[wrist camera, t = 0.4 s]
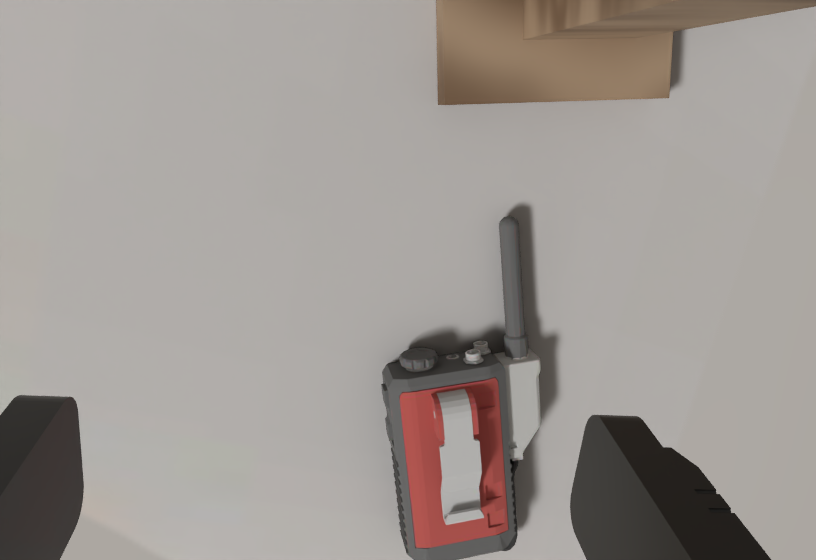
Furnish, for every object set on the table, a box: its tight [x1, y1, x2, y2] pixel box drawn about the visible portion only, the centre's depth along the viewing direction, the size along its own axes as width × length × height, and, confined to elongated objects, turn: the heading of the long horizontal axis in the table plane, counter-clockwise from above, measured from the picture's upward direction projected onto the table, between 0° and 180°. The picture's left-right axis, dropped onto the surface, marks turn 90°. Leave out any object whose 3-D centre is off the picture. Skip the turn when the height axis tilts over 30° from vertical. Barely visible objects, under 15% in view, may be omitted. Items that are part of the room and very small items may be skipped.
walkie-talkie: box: [381, 216, 541, 560], centre depth 39 cm, size 9×4×20 cm
